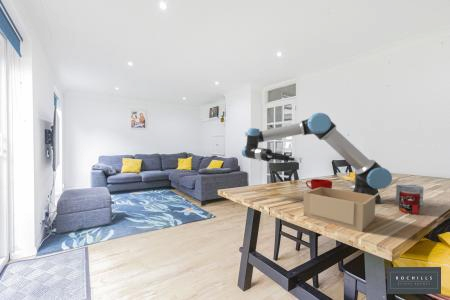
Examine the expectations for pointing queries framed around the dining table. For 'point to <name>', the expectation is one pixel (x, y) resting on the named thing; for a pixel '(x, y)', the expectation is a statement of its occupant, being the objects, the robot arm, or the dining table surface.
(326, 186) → the ceramic cup
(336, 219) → the carton
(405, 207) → the canned food
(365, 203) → the carton flap
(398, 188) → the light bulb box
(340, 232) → the dining table surface
